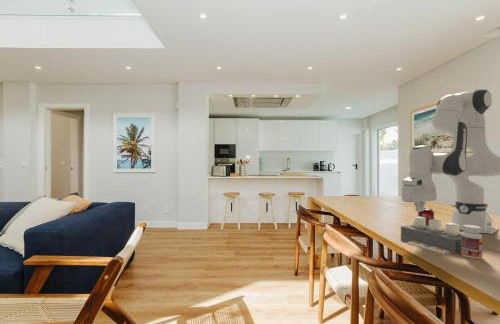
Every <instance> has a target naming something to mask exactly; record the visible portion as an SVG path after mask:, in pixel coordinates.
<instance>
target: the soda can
mask: <svg viewBox="0 0 500 324" xmlns="http://www.w3.org/2000/svg"><path fill="white" fill-rule="evenodd" d="M417 217H424V218H426V222H425V225H427V226H429V220H430V219H433V220H435V212H434V211H433V208H429V207H424V211H420V212H418V211H417Z"/></svg>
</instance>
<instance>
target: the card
mask: <svg viewBox="0 0 500 324" xmlns="http://www.w3.org/2000/svg"><path fill="white" fill-rule="evenodd" d="M407 244H408V245H412V246H415V247H419V248H421V249H422V248H423V249H426V250H429V251H433V252H437V253H438V254H443V255H445V254H447V253H448V254H449V253H450V252H449V251H448V250H444V249H441V248H437V247H434V246H430V245H427V244H423V243H420V242H416V241H408V242H407Z"/></svg>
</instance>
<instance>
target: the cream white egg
mask: <svg viewBox="0 0 500 324" xmlns="http://www.w3.org/2000/svg"><path fill="white" fill-rule="evenodd" d="M441 229H442V220H440V219H439V220H438V219H434V220H433V219H430V220H429V231H432V232H436V233H441Z"/></svg>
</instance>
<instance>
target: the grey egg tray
mask: <svg viewBox="0 0 500 324" xmlns="http://www.w3.org/2000/svg"><path fill="white" fill-rule="evenodd" d="M461 233H462V232H459V237H453V236H449V235H445V228H441V233H436V232H432V231H429V226H427V225H425V229H419V228H415V227H414V223H413V224H407V225H401V226H400V239H402V240H406V241H408V242H410V241H416V242H420V243H423V244H427V245H430V246H434V247H437V248H441V249H444V250H448V251H449V253H450V254H454V255H456V254H461Z"/></svg>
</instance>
